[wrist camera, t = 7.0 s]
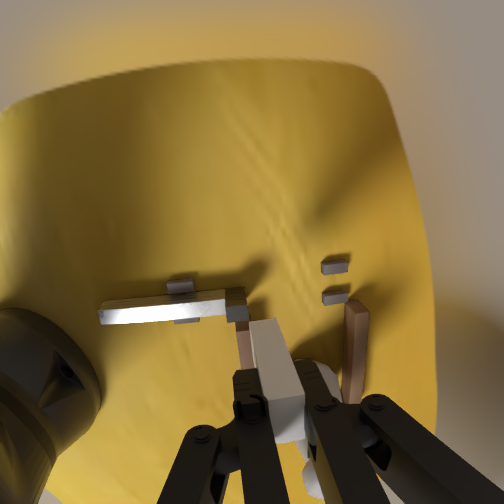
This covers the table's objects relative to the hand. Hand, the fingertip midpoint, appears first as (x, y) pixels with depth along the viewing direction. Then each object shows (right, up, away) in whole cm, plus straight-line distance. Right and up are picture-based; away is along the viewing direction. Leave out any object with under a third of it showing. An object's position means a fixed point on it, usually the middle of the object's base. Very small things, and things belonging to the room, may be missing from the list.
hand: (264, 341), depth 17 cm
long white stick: (-6, +1, +7) cm, 10 cm away
